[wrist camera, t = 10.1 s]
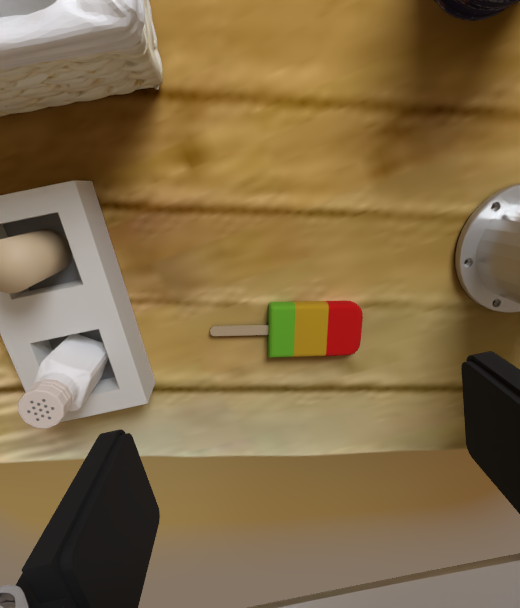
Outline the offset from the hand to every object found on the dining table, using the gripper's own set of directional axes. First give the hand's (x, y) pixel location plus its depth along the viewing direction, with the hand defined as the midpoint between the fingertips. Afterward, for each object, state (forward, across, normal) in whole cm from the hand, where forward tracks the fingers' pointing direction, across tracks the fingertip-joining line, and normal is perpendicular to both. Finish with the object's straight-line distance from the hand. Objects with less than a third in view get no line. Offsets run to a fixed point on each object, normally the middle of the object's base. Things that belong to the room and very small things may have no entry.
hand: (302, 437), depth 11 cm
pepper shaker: (+26, +18, +5) cm, 32 cm away
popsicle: (+28, -1, +7) cm, 29 cm away
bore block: (+26, +18, 0) cm, 32 cm away
